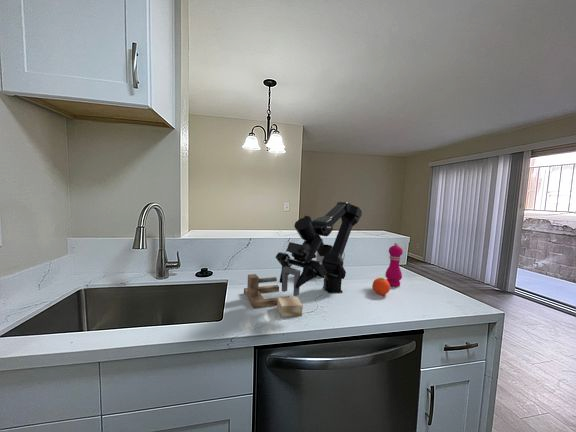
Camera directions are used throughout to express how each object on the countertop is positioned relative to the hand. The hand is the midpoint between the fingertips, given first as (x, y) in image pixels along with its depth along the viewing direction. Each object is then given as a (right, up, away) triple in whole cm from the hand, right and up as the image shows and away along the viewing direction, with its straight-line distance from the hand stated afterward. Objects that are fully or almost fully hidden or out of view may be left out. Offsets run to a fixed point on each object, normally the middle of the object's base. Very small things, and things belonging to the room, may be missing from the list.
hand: (287, 285), depth 85 cm
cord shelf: (-7, -8, +12) cm, 16 cm away
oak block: (0, -9, +2) cm, 10 cm away
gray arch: (+1, -3, +1) cm, 3 cm away
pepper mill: (+49, -9, +35) cm, 61 cm away
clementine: (+39, -10, +22) cm, 46 cm away
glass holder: (+20, -7, +44) cm, 49 cm away
